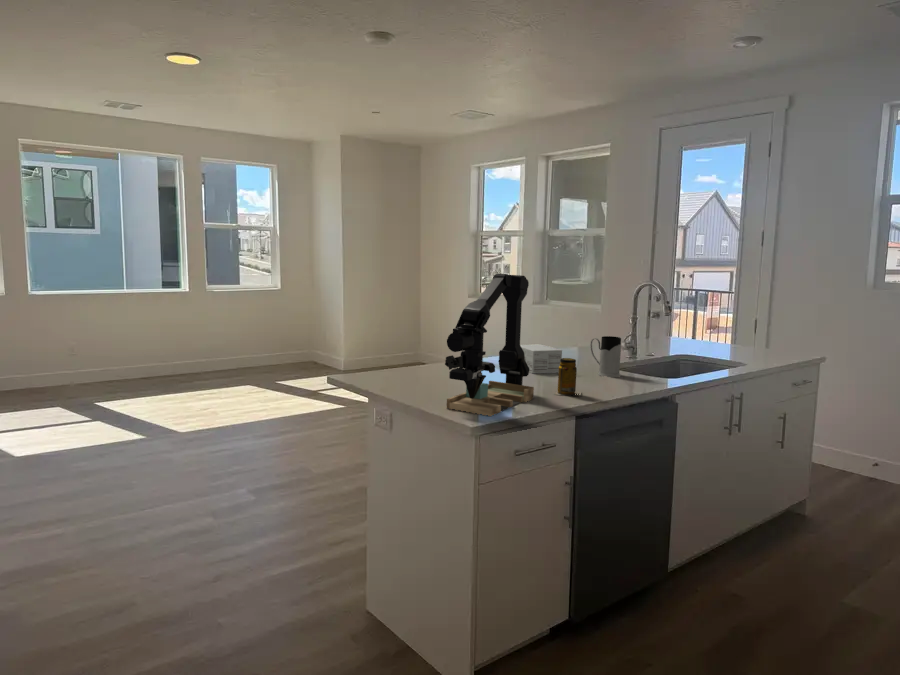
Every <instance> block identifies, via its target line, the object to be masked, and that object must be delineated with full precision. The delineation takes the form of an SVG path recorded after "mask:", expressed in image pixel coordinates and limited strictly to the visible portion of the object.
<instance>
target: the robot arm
mask: <svg viewBox="0 0 900 675" xmlns="http://www.w3.org/2000/svg"><path fill="white" fill-rule="evenodd" d="M529 285H530V284H529V279H527V277H526V275H520V274H518V275H517V274H508V273H496V274H495V273H494V275H493V276H492V280H491V281H490V282H489V284H488V285H487V287H486V288H485V289H484V291H483V292H482V293H481V294H480V296H479V297H478V298H477V299H476V300H474V301H472V302H470V303H468V304H467V305H466V306H465V307H464V308H463V310H462V311H461V314H460V316H459V318H458V320H457V323H456V326H455V327H454V328H453V329H452V332H451V333H449V334H448V337H447V339H446V346H447V348H448V349H449V351H451V352H453V353H458V352H460V356H456V357H455V356H454V355H449V356H446V357H445V360H444V361H445V363H444V366H446V368H448V370H450V371H449V375H448V378H449V379H451V380H457V381H463V382H464V383H465V386H467V390H468V393H469V397H470V398H471V399H473V398H474V397H475V395H476V393H477V391H478V389H479V388H480V386H481V384H482V383H484V380H485V378H486V377H487V375H484V374H483V371H485V372H488V373H489V374H492V373H495V372H496V365H495V364H494V363H493V362H487V361H484V357H483V356H485V355H486V351H484V337H485V336H484V334H485V333H487V332H488V330H487V329H486V328H485V326H486V325H487V323H488V321H489V319H490V317H491V310H492V308H493V307H494V305H495V304H496V302H497V301H498V300H499V298H500V297H501V295H503V297H504V299H505V302H506V313H505V314H506V316H505V317H506V318H505V319H506V320H505V343H504V346H503V348H502V349H499V352H498V366H499V373H500V375H505V383H510V384H516V385H523V378H524V377H528V376H529V374H530V372H529V370H530V369H529V367H528V365H527V363H526V361H525V355H524V351H523V350H522V348H521V346H520V345H521V329H522V327H521V326H522V303H523V301H524V300H525V298H526V296H527V294H528V288H529Z"/></svg>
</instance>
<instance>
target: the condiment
mask: <svg viewBox="0 0 900 675" xmlns="http://www.w3.org/2000/svg"><path fill="white" fill-rule="evenodd" d="M577 370H578V369H577V360H576V359H575V358H570V357H562V359H561V360H560V366H559V373H557V374H558V376H557V391H556V392H555V393H554V394H555V395H557V396H568V397H569V396H570V397H581V396H580V395H579V394H581V392H580V391H576V386H577ZM579 392H580V393H579ZM575 393H578V395H577V394H576V396H575ZM571 395H573V396H571Z"/></svg>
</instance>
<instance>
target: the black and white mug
mask: <svg viewBox="0 0 900 675" xmlns="http://www.w3.org/2000/svg"><path fill="white" fill-rule="evenodd" d="M594 340H596V341H597V344H598V349H599V351H600V352H599V353H600V354H599V360H598V359H597V357H596V356H595V354H594V351H593V342H594ZM600 340H601V341H600ZM590 351H591V355H592V357H593V359H594V360H595V361H596V363H597V364H598V365H599V367H598V373H597V376H600V377H604V376H607V377H606V378H618V377H617V376H620V377H621V374H620V368H621V351H622V338H621V337H620V336H613V335H612V336H609V335H607V336H605V335H604V336H601V339H599V338H597V337H596V338H595V337H594V338H592V339H591V340H590Z"/></svg>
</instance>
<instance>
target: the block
mask: <svg viewBox="0 0 900 675" xmlns="http://www.w3.org/2000/svg"><path fill="white" fill-rule="evenodd" d="M488 384H489V383H484V382H482V384H481V386H480V388H479V389H478V391H477V393H476V395H475V397H474V398H476V399H482V398H484V397H487V396H488ZM465 386H466V385H465ZM465 392H466V397H469V393H468V390H467V386H466V387H465Z"/></svg>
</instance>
